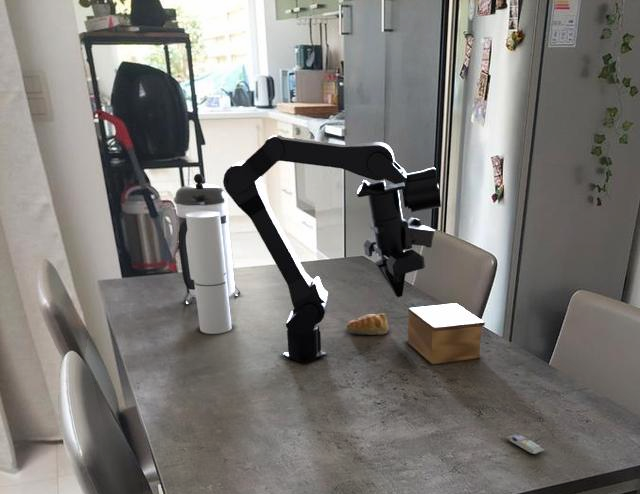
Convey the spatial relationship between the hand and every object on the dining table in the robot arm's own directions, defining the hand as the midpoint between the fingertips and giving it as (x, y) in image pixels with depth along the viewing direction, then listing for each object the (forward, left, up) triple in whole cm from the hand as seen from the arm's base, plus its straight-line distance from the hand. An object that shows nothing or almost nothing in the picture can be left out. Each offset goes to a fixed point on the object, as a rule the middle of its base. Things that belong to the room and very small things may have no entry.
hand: (399, 296), depth 139 cm
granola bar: (-18, -41, -13) cm, 46 cm away
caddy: (+9, -5, -13) cm, 16 cm away
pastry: (+8, +14, -13) cm, 21 cm away
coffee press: (-1, +60, -13) cm, 62 cm away
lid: (+9, -5, -6) cm, 12 cm away
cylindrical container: (-14, +42, -13) cm, 47 cm away
